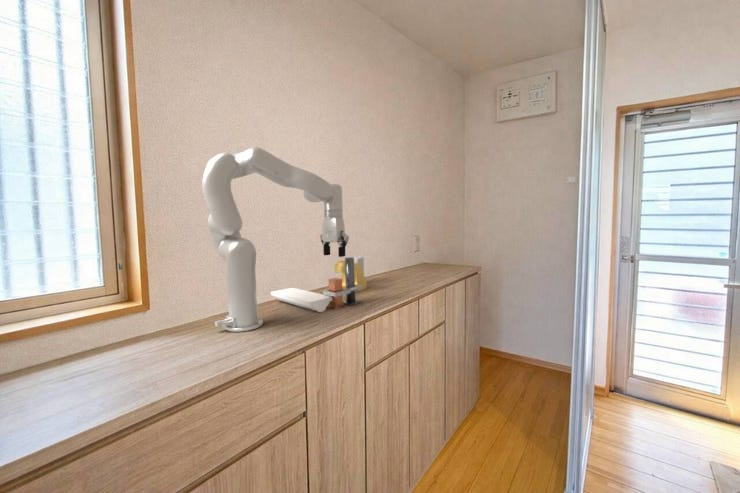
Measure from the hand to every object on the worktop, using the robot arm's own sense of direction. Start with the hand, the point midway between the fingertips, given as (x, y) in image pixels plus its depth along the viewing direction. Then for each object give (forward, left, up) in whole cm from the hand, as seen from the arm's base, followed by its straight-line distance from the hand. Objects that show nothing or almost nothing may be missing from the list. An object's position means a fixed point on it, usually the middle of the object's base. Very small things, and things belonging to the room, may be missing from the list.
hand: (334, 255), depth 141 cm
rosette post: (+5, 0, -22) cm, 22 cm away
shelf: (-8, +14, -22) cm, 28 cm away
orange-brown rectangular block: (0, 0, -22) cm, 22 cm away
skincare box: (+37, +26, -22) cm, 50 cm away
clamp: (+25, +18, -22) cm, 38 cm away
